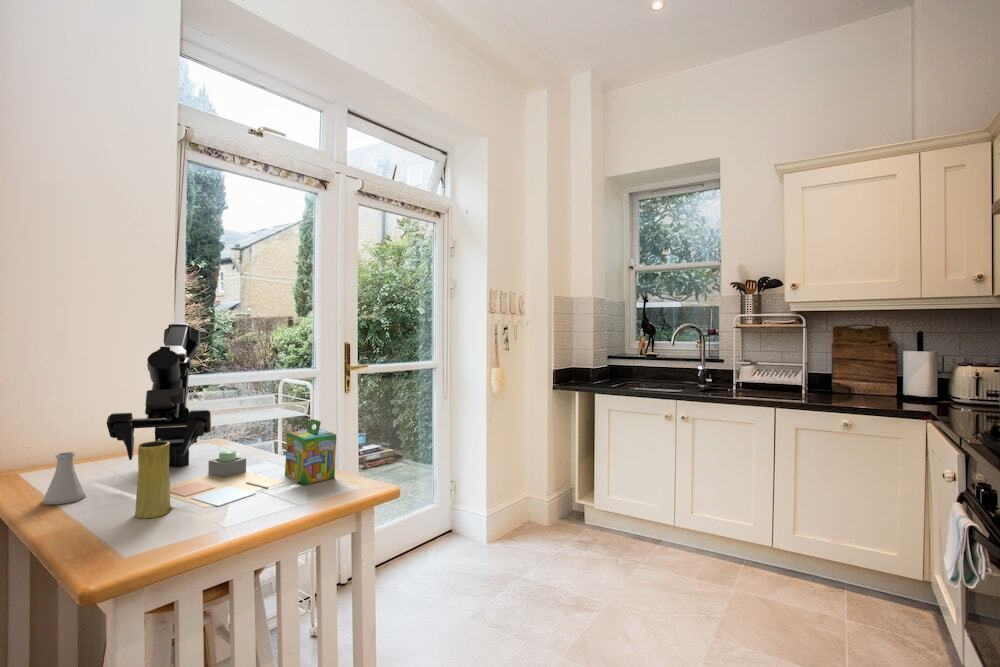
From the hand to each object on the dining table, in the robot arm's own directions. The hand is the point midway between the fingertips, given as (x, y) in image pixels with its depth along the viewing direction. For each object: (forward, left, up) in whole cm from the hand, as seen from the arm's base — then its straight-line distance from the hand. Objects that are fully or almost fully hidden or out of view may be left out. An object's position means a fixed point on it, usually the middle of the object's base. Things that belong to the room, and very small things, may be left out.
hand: (156, 457), depth 107 cm
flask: (-20, -7, -11) cm, 24 cm away
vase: (+3, -2, -11) cm, 11 cm away
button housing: (-6, +21, -10) cm, 24 cm away
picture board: (+1, +14, -11) cm, 18 cm away
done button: (-6, +21, -8) cm, 23 cm away
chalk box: (+12, +31, -11) cm, 35 cm away
